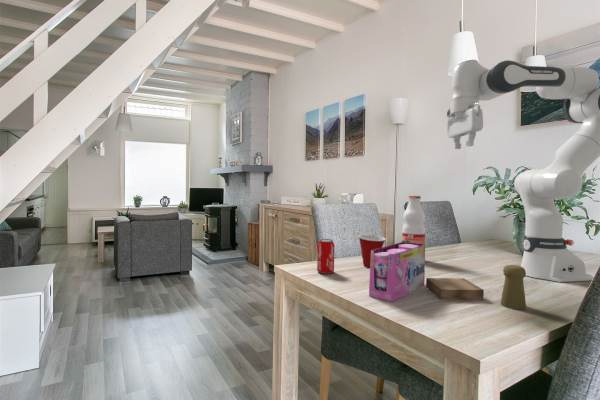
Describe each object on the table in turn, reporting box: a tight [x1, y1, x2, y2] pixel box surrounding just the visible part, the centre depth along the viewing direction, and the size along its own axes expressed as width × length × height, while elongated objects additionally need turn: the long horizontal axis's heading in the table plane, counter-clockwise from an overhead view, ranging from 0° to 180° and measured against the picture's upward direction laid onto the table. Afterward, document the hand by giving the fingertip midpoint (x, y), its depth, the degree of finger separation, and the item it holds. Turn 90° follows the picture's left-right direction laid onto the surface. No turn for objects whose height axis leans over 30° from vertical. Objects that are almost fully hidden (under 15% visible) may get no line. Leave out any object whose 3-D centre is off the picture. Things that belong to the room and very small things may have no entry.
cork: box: [499, 264, 527, 310], centre depth 94 cm, size 6×6×11 cm
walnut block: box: [425, 277, 484, 301], centre depth 104 cm, size 12×12×3 cm
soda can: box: [316, 238, 335, 275], centre depth 127 cm, size 6×6×12 cm
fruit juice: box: [401, 195, 426, 245], centre depth 149 cm, size 9×9×28 cm
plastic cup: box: [357, 234, 387, 268], centre depth 138 cm, size 11×11×12 cm
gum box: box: [368, 241, 426, 303], centre depth 106 cm, size 24×8×14 cm, turn 139°
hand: (463, 147), depth 123 cm, fingers open, 8 cm apart
